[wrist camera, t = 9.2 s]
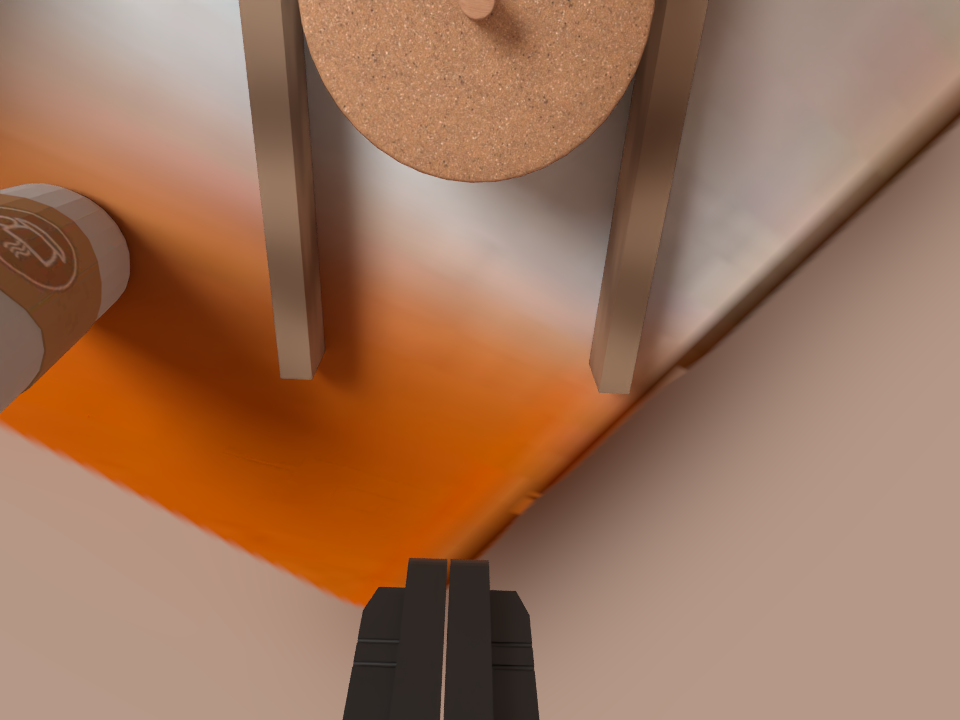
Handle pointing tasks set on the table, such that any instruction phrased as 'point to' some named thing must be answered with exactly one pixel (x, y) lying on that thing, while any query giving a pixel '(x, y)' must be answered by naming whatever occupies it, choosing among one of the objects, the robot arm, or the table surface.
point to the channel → (636, 210)
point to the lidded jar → (476, 76)
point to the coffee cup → (52, 278)
